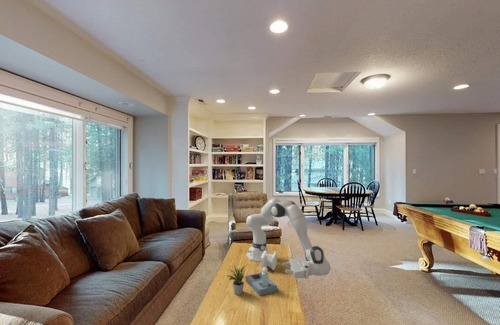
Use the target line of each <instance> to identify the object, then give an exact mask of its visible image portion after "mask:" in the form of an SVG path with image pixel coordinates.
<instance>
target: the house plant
mask: <svg viewBox="0 0 500 325" xmlns="http://www.w3.org/2000/svg"><path fill="white" fill-rule="evenodd" d="M233 267H234V271H233V270H232V269H229V268H227V270H228V271H230V273H231V275H229V274H228V275H226V277H228V281H232V280H233V282H232V286H233V292H234V295H237V296H240V295H242V294H243V290H244V281H243V280H245V272H246V270H247V269H246V268H245V267H246V265H243V267H241V268H240V267H239V268H238V267H236V266H235V265H233ZM245 269H246V270H245Z"/></svg>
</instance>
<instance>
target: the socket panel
mask: <svg viewBox="0 0 500 325" xmlns="http://www.w3.org/2000/svg"><path fill="white" fill-rule="evenodd" d="M262 272H263V271H261V272H256V273H252V274H248V275H244V280H245V282H246V283H247V284H248V285H249V287H251V288H252V290H253V291H254V292H255V293H256V294H257V295H258V296H263V295H268V294H270V293H271V294H272V293H275V292H278V285H277V284H276V283H275V282H274V281H273V280H272V279H270V278H269V277H268V287H264V288H263V287H262Z"/></svg>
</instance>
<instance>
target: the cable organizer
mask: <svg viewBox="0 0 500 325" xmlns="http://www.w3.org/2000/svg"><path fill="white" fill-rule="evenodd" d="M277 252H278V251H275V250H274V252H273V254H270V253H268V254H267V251H264V252H263V254H262V256H261V261H260V270H262V271H263V268H264V267H266V268H267V269H268V267H269V269H271V270H272V271H273V272H274V271H275V269H276V267H277V264H278V263H277V262H278V253H277Z"/></svg>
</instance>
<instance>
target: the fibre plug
mask: <svg viewBox="0 0 500 325" xmlns="http://www.w3.org/2000/svg"><path fill="white" fill-rule="evenodd" d="M261 272H262V287H263V288H264V287H268V278H269V272H268V267H267V268H266V267H264V268H263V270H262V271H261Z"/></svg>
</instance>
